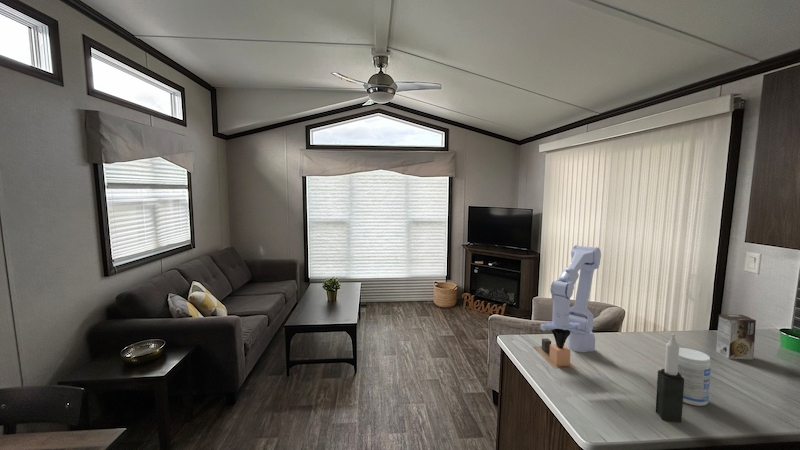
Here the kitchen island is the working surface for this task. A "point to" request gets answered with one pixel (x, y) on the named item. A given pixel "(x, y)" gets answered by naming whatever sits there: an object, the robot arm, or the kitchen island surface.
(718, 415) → the kitchen island surface
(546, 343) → the stand
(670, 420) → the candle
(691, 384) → the supplement tub
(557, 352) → the peach cube
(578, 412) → the kitchen island surface
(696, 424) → the kitchen island surface
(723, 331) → the printed cardboard box
